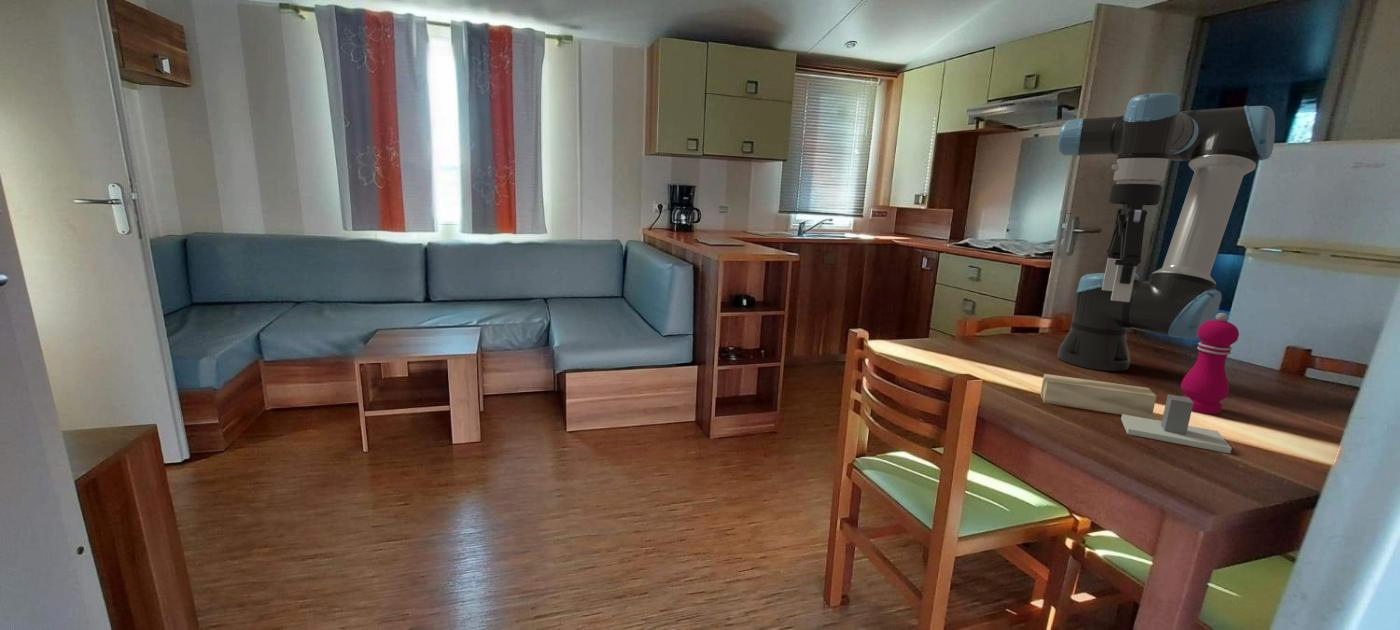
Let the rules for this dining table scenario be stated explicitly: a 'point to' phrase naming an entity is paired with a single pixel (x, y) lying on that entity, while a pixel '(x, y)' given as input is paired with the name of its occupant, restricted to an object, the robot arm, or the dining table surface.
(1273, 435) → the dining table surface
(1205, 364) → the pepper mill
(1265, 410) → the dining table surface
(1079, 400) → the beech bar
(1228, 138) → the robot arm
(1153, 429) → the stand
